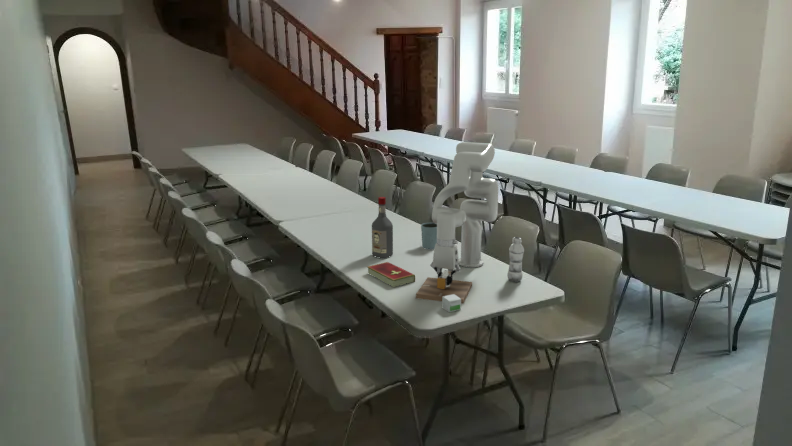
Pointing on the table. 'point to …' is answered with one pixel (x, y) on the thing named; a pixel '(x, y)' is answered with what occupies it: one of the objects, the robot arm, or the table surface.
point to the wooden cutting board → (443, 290)
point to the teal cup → (429, 235)
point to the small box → (451, 303)
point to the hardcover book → (391, 274)
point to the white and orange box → (443, 281)
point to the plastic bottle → (515, 260)
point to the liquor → (382, 233)
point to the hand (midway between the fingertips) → (444, 282)
